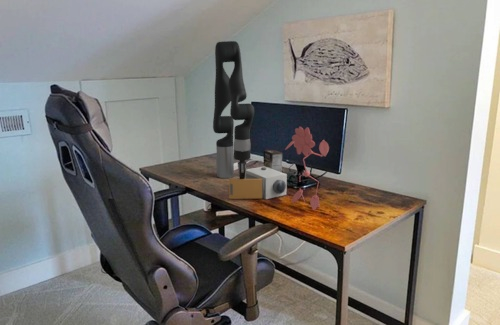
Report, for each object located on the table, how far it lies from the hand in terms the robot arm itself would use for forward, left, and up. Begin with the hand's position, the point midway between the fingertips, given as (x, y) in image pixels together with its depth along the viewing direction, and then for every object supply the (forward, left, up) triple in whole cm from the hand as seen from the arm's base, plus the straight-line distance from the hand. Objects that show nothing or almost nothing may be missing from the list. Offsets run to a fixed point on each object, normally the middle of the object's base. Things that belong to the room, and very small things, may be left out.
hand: (241, 184), depth 176 cm
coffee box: (-13, +27, -6) cm, 31 cm away
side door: (+4, 0, -5) cm, 7 cm away
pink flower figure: (+26, +13, -6) cm, 30 cm away
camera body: (0, +13, -6) cm, 14 cm away
